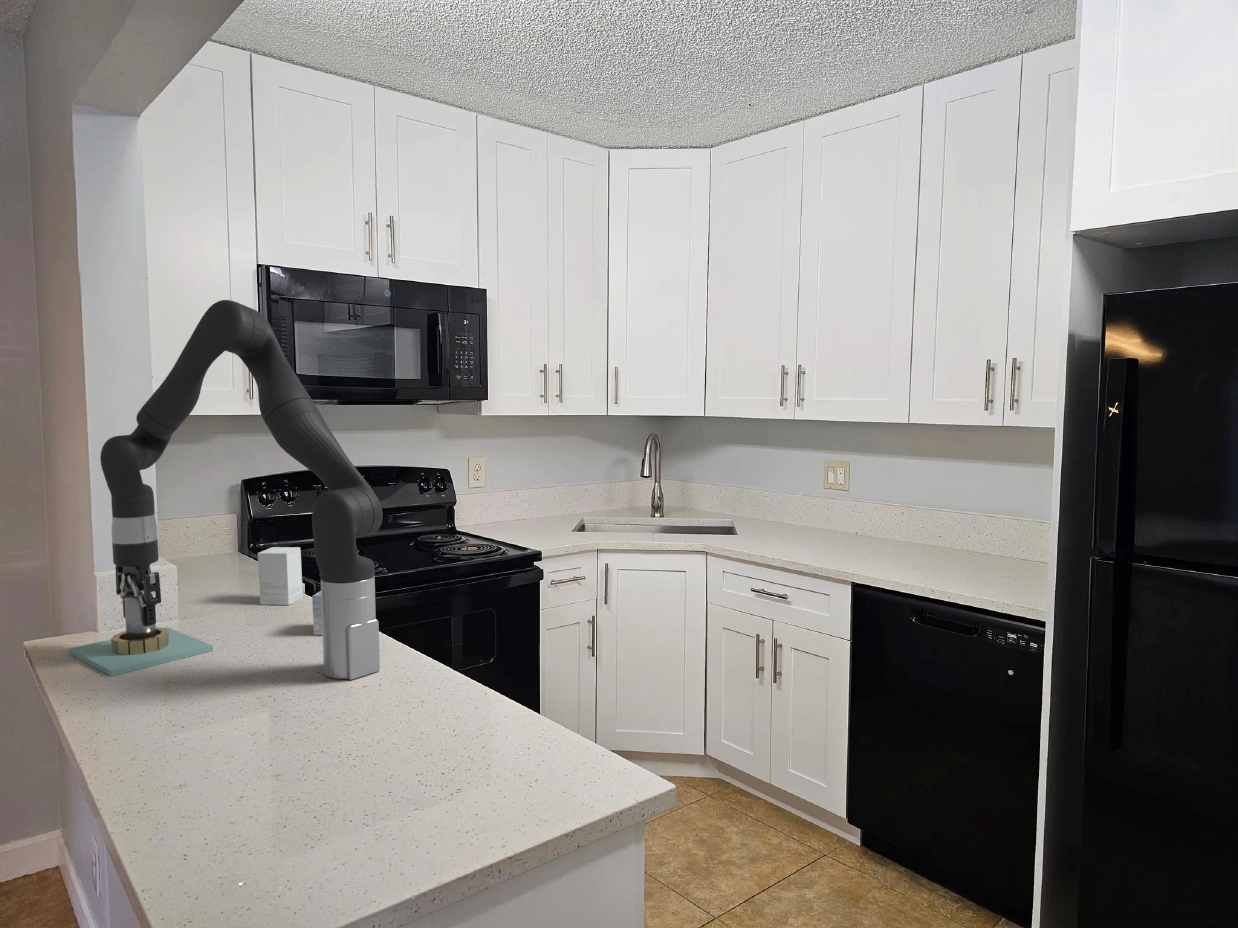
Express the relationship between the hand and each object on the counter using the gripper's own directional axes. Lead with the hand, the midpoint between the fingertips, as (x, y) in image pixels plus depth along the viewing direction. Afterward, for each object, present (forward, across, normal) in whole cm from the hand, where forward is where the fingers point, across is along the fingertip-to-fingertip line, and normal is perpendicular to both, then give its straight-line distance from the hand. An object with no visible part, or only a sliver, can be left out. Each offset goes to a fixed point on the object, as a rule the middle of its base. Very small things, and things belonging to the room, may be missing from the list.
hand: (139, 621), depth 158 cm
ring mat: (+6, 0, 0) cm, 6 cm away
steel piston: (+5, 0, 0) cm, 5 cm away
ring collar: (+6, 0, 0) cm, 6 cm away
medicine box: (+6, -16, -31) cm, 35 cm away
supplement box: (+6, +14, -37) cm, 40 cm away
